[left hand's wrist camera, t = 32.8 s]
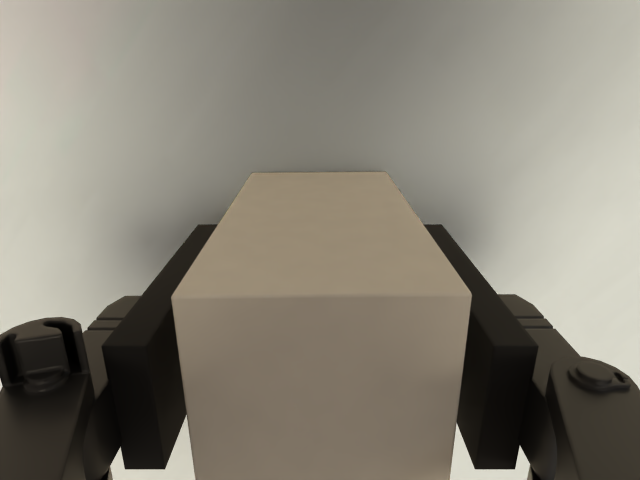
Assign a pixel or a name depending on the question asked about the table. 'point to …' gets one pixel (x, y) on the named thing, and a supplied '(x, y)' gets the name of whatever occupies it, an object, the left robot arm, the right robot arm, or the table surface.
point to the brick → (321, 335)
